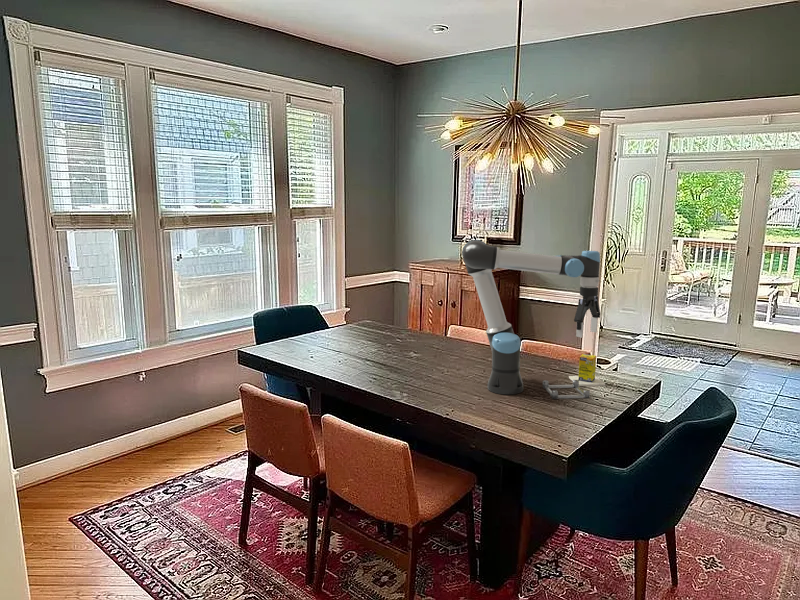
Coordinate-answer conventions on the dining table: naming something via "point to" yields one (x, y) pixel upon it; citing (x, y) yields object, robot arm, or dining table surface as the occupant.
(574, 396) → the grey rod square frame
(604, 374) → the dining table surface
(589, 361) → the supplement box
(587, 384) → the plate
